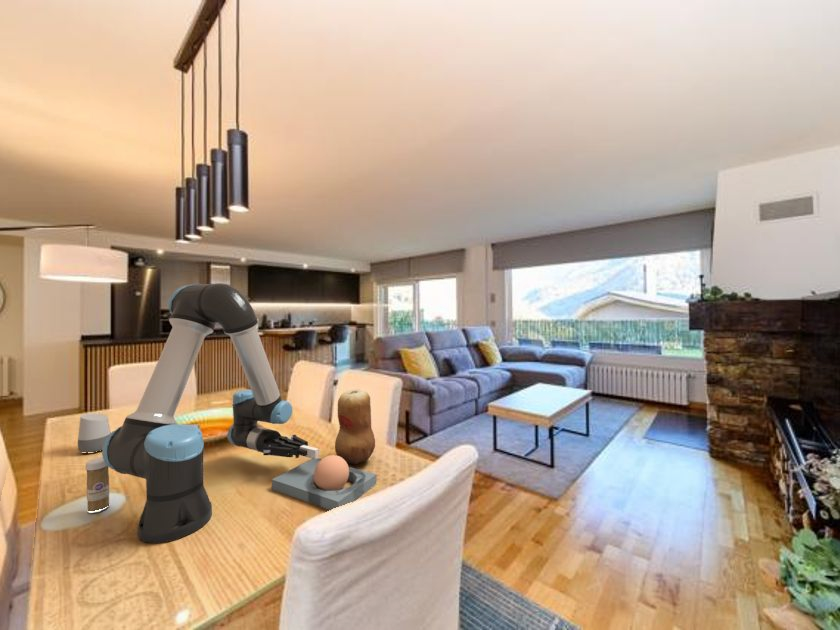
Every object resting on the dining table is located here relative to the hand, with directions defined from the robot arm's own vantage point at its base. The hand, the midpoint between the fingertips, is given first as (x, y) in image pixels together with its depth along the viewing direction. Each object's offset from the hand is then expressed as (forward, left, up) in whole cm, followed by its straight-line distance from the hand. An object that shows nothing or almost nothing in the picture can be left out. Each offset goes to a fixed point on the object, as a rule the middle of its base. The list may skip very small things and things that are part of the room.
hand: (317, 454), depth 107 cm
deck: (-2, -2, -9) cm, 9 cm away
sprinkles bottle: (-12, +55, -9) cm, 57 cm away
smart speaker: (+28, +91, -9) cm, 95 cm away
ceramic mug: (+34, +60, -9) cm, 70 cm away
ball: (-5, -5, -4) cm, 8 cm away
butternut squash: (+14, -10, -9) cm, 19 cm away
